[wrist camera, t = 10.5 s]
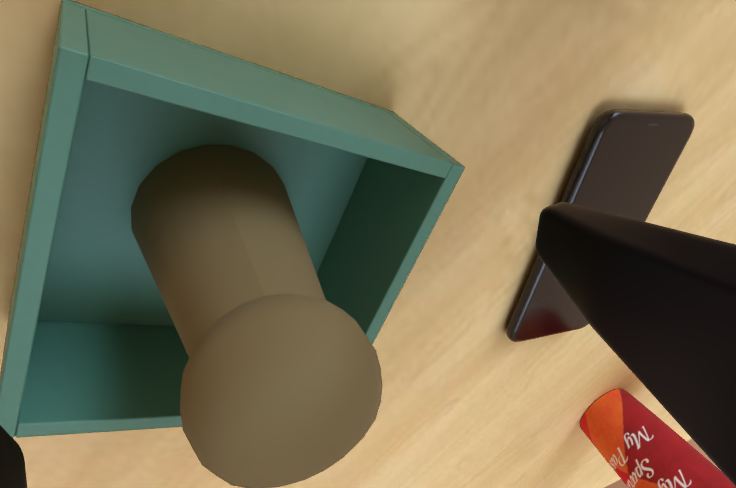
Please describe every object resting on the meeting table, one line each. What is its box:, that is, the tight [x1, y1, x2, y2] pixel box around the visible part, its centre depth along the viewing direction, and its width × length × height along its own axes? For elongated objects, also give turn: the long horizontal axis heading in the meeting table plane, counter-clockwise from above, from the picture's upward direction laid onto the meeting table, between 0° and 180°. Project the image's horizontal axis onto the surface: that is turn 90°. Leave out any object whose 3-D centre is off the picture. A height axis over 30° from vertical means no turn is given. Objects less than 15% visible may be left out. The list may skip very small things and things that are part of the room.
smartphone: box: [507, 109, 694, 342], centre depth 32 cm, size 8×1×16 cm
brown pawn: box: [131, 145, 382, 488], centre depth 16 cm, size 6×6×11 cm
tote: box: [0, 0, 465, 438], centre depth 19 cm, size 12×12×6 cm
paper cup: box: [580, 389, 736, 488], centre depth 45 cm, size 8×8×14 cm
